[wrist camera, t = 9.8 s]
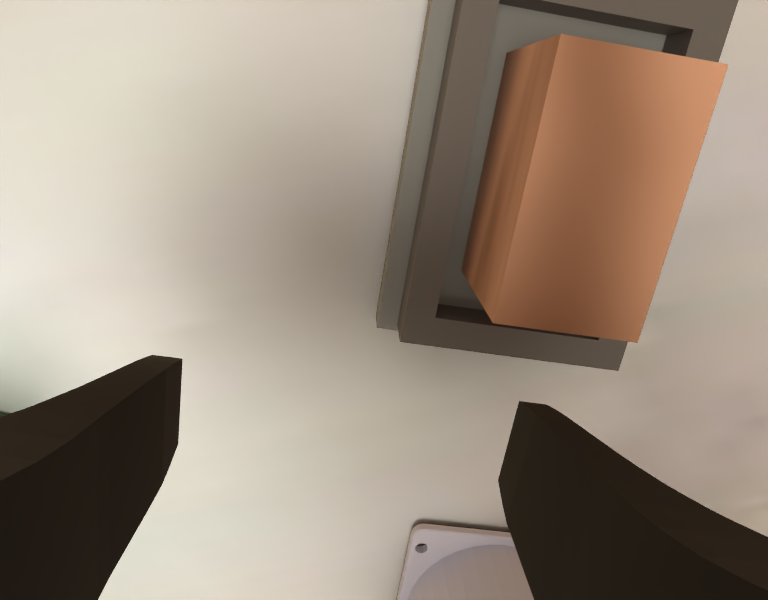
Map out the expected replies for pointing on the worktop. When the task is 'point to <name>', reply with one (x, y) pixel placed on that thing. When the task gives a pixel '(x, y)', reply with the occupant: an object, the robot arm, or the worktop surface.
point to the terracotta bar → (585, 183)
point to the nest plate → (468, 147)
